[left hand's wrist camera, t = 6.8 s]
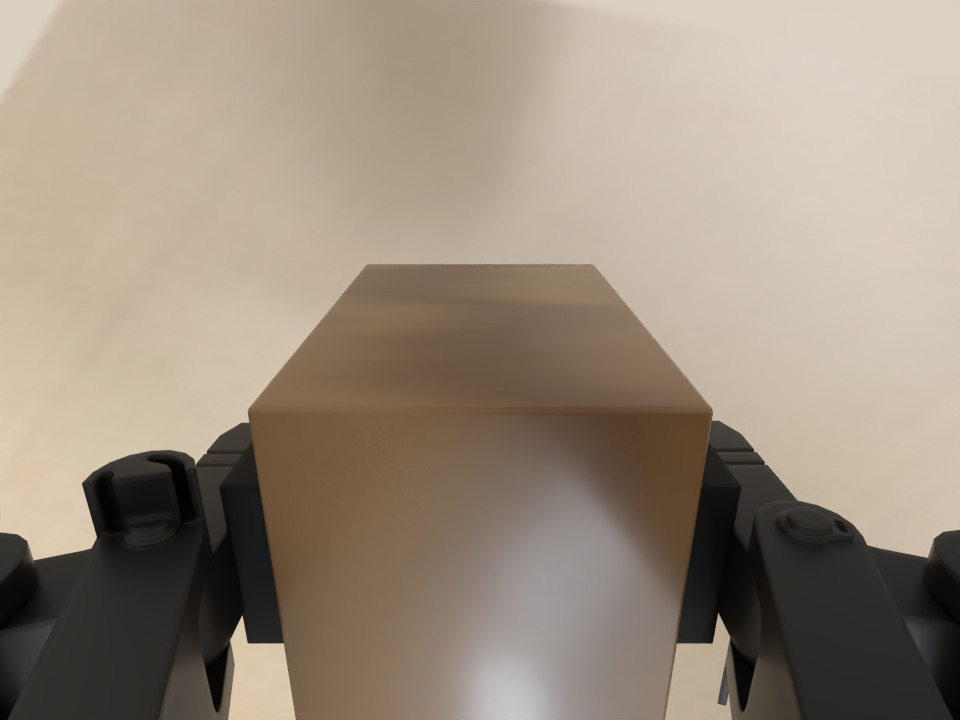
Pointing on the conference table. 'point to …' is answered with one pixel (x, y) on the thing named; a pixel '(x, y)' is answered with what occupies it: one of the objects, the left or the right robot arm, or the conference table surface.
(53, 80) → the conference table surface
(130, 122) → the conference table surface
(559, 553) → the block
